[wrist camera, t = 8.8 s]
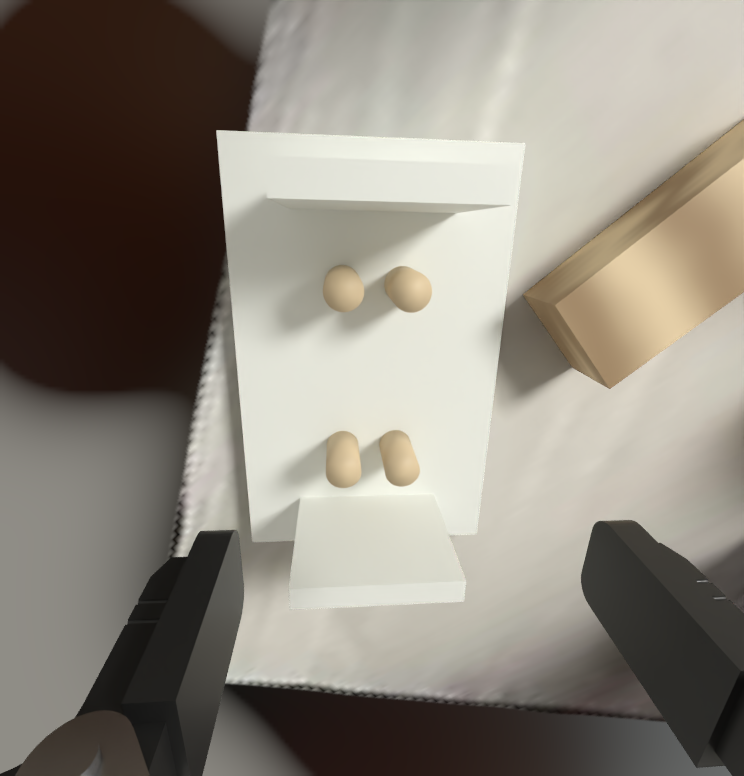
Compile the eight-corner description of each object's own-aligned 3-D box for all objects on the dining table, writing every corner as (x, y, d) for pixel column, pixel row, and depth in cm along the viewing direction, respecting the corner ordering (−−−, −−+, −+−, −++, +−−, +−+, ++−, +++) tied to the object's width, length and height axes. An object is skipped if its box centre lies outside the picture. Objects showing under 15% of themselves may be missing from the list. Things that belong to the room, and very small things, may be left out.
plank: (750, 111, 22) (836, 86, 18) (787, 203, 23) (873, 197, 20) (520, 293, 24) (554, 305, 20) (569, 366, 26) (609, 388, 22)
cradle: (221, 135, 20) (154, 77, 12) (517, 147, 21) (617, 100, 14) (255, 531, 27) (225, 644, 20) (472, 524, 29) (520, 628, 21)
